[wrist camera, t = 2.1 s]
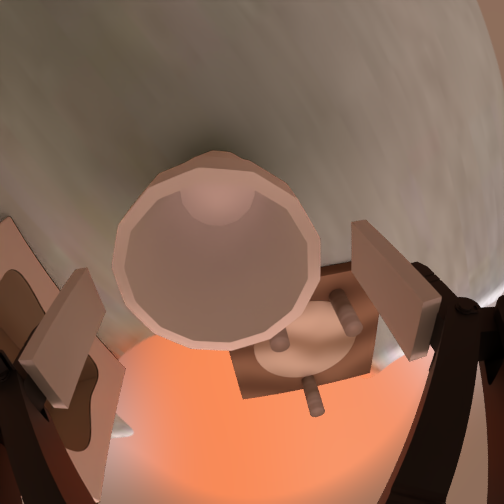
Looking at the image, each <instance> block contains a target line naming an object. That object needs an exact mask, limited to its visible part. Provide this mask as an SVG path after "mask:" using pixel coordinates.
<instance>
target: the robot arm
mask: <svg viewBox="0 0 504 504" xmlns="http://www.w3.org/2000/svg"><path fill="white" fill-rule="evenodd" d="M351 231H352V259H351V272H352V273H353V275H354V276H355V277H356V279H357V280H358V282H359V283H360V285H361V286H362V288H363V289H364V291H365V292H366V294H367V295H368V297H369V298H370V300H371V302H372V303H373V305H374V306H375V308H376V309H377V311H378V312H379V314H380V315H381V317H382V318H383V320H384V322H385V323H386V325H387V326H388V328H389V330H390V331H391V333H392V334H393V336H394V338H395V339H396V341H397V342H398V344H399V346H400V347H401V349H402V350H403V352H404V354H405V355H406V357H407V358H408V360H409V362H410V361H413V360H416V359H419V358H422V357H425V356H427V353H428V349H429V345H431V347H432V348H433V349H434V351H435V353H434V356H433V360H432V362H431V365H430V368H429V374H428V378H427V381H426V385H425V388H424V391H423V394H422V397H421V401H420V403H419V406H418V409H417V412H416V415H415V418H414V421H413V423H412V426H411V429H410V432H409V434H408V437H407V439H406V442H405V444H404V447H403V449H402V452H401V454H400V456H399V459H398V461H397V463H396V466H395V468H394V470H393V472H392V474H391V477H390V479H389V481H388V483H387V485H386V487H385V489H384V491H383V493H382V495H381V497H380V499H379V501H378V503H377V504H446V503H445V502H446V497H447V494H448V491H449V488H450V485H451V482H452V479H453V476H454V473H455V470H456V467H457V463H458V459H459V456H460V453H461V449H462V445H463V441H464V437H465V433H466V429H467V424H468V419H469V415H470V409H471V404H472V399H473V392H474V386H475V380H476V371H477V364H478V361H479V366H480V372H481V378H482V385H483V393H484V402H485V411H486V423H487V440H488V495H487V504H504V295H502V296H500V297H499V298H498V300H497V303H496V306H495V307H484V308H481V307H480V306H479V305H478V303H476V302H475V301H473V300H472V299H469V298H466V297H457V296H456V295H455V294H454V293H453V292H452V291H451V290H450V289H449V288H448V287H447V286H446V285H445V284H444V283H443V282H442V281H441V280H440V279H439V278H438V277H437V276H436V275H434V273H433V272H432V271H431V270H430V269H429V268H428V267H427V266H425V265H423V264H421V263H419V262H414V263H410V262H409V261H408V260H407V259H406V258H405V257H404V256H403V255H402V254H401V253H400V252H399V251H398V250H397V249H396V248H395V247H394V246H393V245H392V244H391V243H390V242H389V241H388V240H387V239H386V238H385V237H384V236H382V235H381V234H380V233H379V232H378V231H377V230H376V229H375V228H374V227H373V226H372V225H371V224H370V223H369V222H368V221H367V220H360V221H354V222H351ZM105 313H106V310H105V308H104V305H103V303H102V301H101V299H100V296H99V294H98V292H97V290H96V287H95V285H94V282H93V280H92V278H91V275H90V273H89V270H88V268H87V267H86V268H81V269H76V270H75V271H74V272H73V273H72V275H71V276H70V278H69V279H68V281H67V282H66V284H65V285H64V286H63V288H62V289H61V291H60V292H59V294H58V295H57V297H56V298H55V300H54V301H53V303H52V305H51V306H50V308H49V309H48V311H47V312H46V314H45V315H44V317H43V319H42V320H41V322H40V323H39V324H38V325H37V326H36V327H35V328H34V329H33V330H32V332H31V333H30V335H29V337H28V338H27V339H28V340H26V342H25V343H24V346H23V347H22V348H21V350H20V352H19V354H18V355H17V357H16V359H15V361H14V363H13V364H12V363H11V361H10V360H9V358H8V357H7V355H6V354H5V352H4V351H3V350H1V349H0V504H22V499H23V502H24V504H96V502H95V501H94V499H93V497H92V496H91V494H90V492H89V491H88V489H87V487H86V486H85V484H84V482H83V481H82V479H81V477H80V475H79V473H78V472H77V470H76V468H75V466H74V464H73V462H72V460H71V458H70V456H69V455H68V453H67V451H66V448H65V446H64V444H63V442H62V440H61V438H60V436H59V434H58V432H57V429H56V427H55V425H54V423H53V420H52V418H51V416H50V413H49V411H48V409H47V408H46V407H45V406H44V404H45V401H46V399H47V400H48V401H49V402H50V403H51V405H52V406H53V407H54V408H65V409H68V408H69V405H70V402H71V399H72V396H73V393H74V390H75V388H76V385H77V382H78V379H79V377H80V374H81V371H82V369H83V366H84V363H85V361H86V358H87V356H88V353H89V351H90V348H91V346H92V343H93V341H94V338H95V336H96V334H97V331H98V329H99V327H100V324H101V322H102V320H103V317H104V315H105ZM21 496H22V499H21Z"/></svg>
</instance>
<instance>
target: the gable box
mask: <svg viewBox="0 0 504 504" xmlns="http://www.w3.org/2000/svg"><path fill="white" fill-rule="evenodd" d="M59 292H60V291H59V289H58V288H57V287H56V285H55V284H54V283H53V281H52V280H51V279H50V277H49V276H48V274H47V273H46V272H45V270H44V269H43V267H42V266H41V264H40V263H39V261H38V260H37V258H36V257H35V255H34V254H33V252H32V251H31V249H30V248H29V246H28V245H27V243H26V242H25V240H24V239H23V237H22V235H21V234H20V232H19V231H18V229H17V227H16V226H15V224H14V222H13V221H12V219H11V217H7V218H6V219H4V220H3V221H2V222H1V223H0V349H1V350H3V351H4V352H5V354H6V355H7V357H8V358H9V360H10V361H11V363H12V364H13V363H14V361H15V359H16V357H17V355H18V354H19V352H20V350H21V348H22V347H23V346H24V343H25V342H26V340H28V339H27V338H28V337H29V335H30V333H31V332H32V330H33V329H34V328H35V327H36V326H37V325H38V324H39V323H40V322H41V320H42V319H43V317H44V315H45V314H46V312H47V311H48V309H49V308H50V306H51V305H52V303H53V301H54V300H55V298H56V297H57V295H58V294H59ZM125 369H126V368H125V367H124V366H123V365H122V364H121V363H120V362H119V361H118V360H117V359H116V358H115V357H114V356H113V354H112V353H111V352H110V351H109V350H108V349H107V348H106V347H105V346H104V345H103V343H102V342H101V341H100V340H99V339H98V338H97V337H96V336H95V338H94V341H93V343H92V346H91V348H90V351H89V353H88V356H87V358H86V361H85V363H84V366H83V369H82V371H81V374H80V377H79V379H78V382H77V385H76V388H75V390H74V393H73V396H72V399H71V402H70V405H69V408H68V409H65V408H54V407H53V406H52V405H51V403H50V402H49V401H48V400H47V399H46V401H45V404H44V406H45V407H46V408H47V409H48V411H49V413H50V416H51V418H52V420H53V423H54V425H55V427H56V429H57V432H58V434H59V436H60V438H61V440H62V442H63V444H64V446H65V448H66V451H67V453H68V455H69V456H70V458H71V460H72V462H73V464H74V466H75V468H76V470H77V472H78V473H79V475H80V477H81V479H82V481H83V482H84V484H85V486H86V487H87V489H88V491H89V492H90V494H91V496H92V497H93V499H94V501H95V502H96V504H98V503H99V502H100V499H101V493H102V486H103V479H104V472H105V466H106V460H107V455H108V449H109V444H110V438H111V433H112V428H113V423H114V418H115V414H116V409H117V404H118V399H119V395H120V391H121V387H122V382H123V378H124V374H125ZM21 498H22V496H21Z"/></svg>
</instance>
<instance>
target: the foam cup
mask: <svg viewBox="0 0 504 504" xmlns="http://www.w3.org/2000/svg"><path fill="white" fill-rule="evenodd" d="M112 270H113V273H114V276H115V279H116V282H117V284H118V287H119V290H120V293H121V295H122V298H123V301H124V303H125V305H126V306H127V307H128V308H129V309H130V310H131V311H132V312H133V313H134V314H135V315H136V316H137V317H138V318H139V319H140V320H141V321H142V322H143V323H144V324H145V325H146V326H147V327H148V328H149V329H150V330H151V331H152V332H153V333H154V334H157V335H159V336H161V337H164V338H166V339H169V340H171V341H173V342H176V343H178V344H180V345H183V346H186V347H188V348H190V349H205V350H227V351H232V350H236V349H239V348H243V347H246V346H249V345H253V344H256V343H259V342H262V341H265V340H269V339H271V338H272V337H274V336H275V335H276V334H278V333H279V332H280V331H281V330H283V329H284V328H285V327H287V326H288V325H289V324H290V323H292V322H293V321H294V320H296V319H297V318H298V317H299V316H301V315H302V313H303V311H304V309H305V308H306V306H307V304H308V302H309V300H310V298H311V296H312V295H313V293H314V291H315V289H316V287H317V285H318V283H319V281H320V237H319V235H318V233H317V232H316V230H315V228H314V226H313V225H312V223H311V221H310V219H309V218H308V216H307V214H306V212H305V211H304V209H303V207H302V205H301V204H300V202H299V200H298V199H297V197H296V196H295V194H294V193H293V192H292V190H291V189H290V187H289V186H288V185H287V183H285V182H284V181H282V180H281V179H279V178H277V177H276V176H274V175H272V174H271V173H269V172H268V171H266V170H264V169H263V168H261V167H259V166H258V165H256V164H254V163H253V162H251V161H249V160H244V159H242V158H240V157H238V156H237V155H235V154H233V153H231V152H226V151H213V150H212V151H209V152H207V153H204V154H201V155H199V156H196V157H194V158H192V159H190V160H189V161H187V162H185V163H183V164H180V165H178V166H175V167H173V168H170V169H168V170H166V171H163V172H161V173H159V174H158V175H157V176H156V177H155V178H154V180H153V181H152V182H151V183H150V184H149V185H148V187H147V188H146V189H145V190H144V191H143V193H142V194H141V195H140V196H139V197H138V199H137V200H136V201H135V202H134V204H133V205H132V206H131V207H130V209H129V210H128V212H127V213H126V214H125V216H124V217H123V219H122V220H121V222H120V223H119V224H118V229H117V234H116V240H115V247H114V253H113V260H112Z"/></svg>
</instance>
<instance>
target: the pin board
mask: <svg viewBox="0 0 504 504" xmlns="http://www.w3.org/2000/svg"><path fill="white" fill-rule="evenodd" d="M378 317H379V312H378V311H377V309H376V308H375V306H374V305H373V303H372V302H371V300H370V298H369V297H368V295H367V294H366V292H365V291H364V289H363V288H362V286H361V285H360V283H359V282H358V280H357V279H356V277H355V276H354V275H353V273H352V272H351V262H346V263H341V264H336V265H330V266H325V267H320V281H319V283H318V285H317V287H316V289H315V291H314V293H313V295H312V296H311V298H310V300H309V302H308V304H307V306H306V308H305V309H304V311H303V313H302V315H301V316H299V317H298V318H297V319H296V320H294V321H293V322H292V323H290V324H289V325H288V326H287V327H285V328H284V329H283V330H281V331H280V332H279V333H278V334H276V335H275V336H274V337H272V338H271V339H269V340H265V341H262V342H259V343H256V344H253V345H249V346H246V347H243V348H239V349H236V350H232V351H229V352H230V356H231V360H232V363H233V366H234V370H235V374H236V377H237V380H238V384H239V387H240V391H241V395H242V398H243V399H248V398H255V397H262V396H268V395H273V394H279V393H284V392H290V391H295V390H300V389H304V393H305V396H306V400H307V404H308V408H309V411H310V415H311V416H312V417H318V416H321V415H323V414H324V412H325V410H324V407H323V403H322V400H321V397H320V394H319V390H318V387H317V386H319V385H323V384H328V383H332V382H336V381H340V380H344V379H348V378H352V377H356V376H360V375H363V374H367V373H370V369H371V363H372V357H373V351H374V345H375V339H376V332H377V325H378Z"/></svg>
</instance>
